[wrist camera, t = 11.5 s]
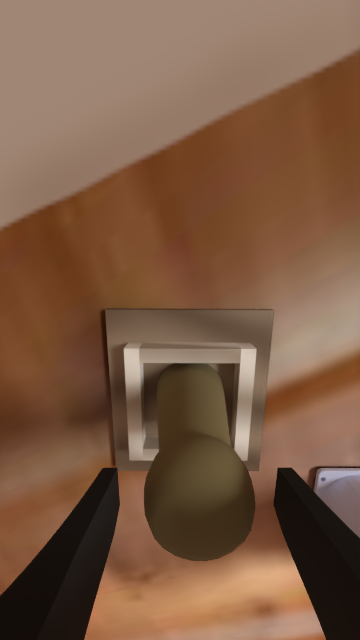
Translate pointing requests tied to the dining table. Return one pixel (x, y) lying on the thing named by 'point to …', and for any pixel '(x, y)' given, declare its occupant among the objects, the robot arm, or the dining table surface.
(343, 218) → the dining table surface
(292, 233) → the dining table surface
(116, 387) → the collar board
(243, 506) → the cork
